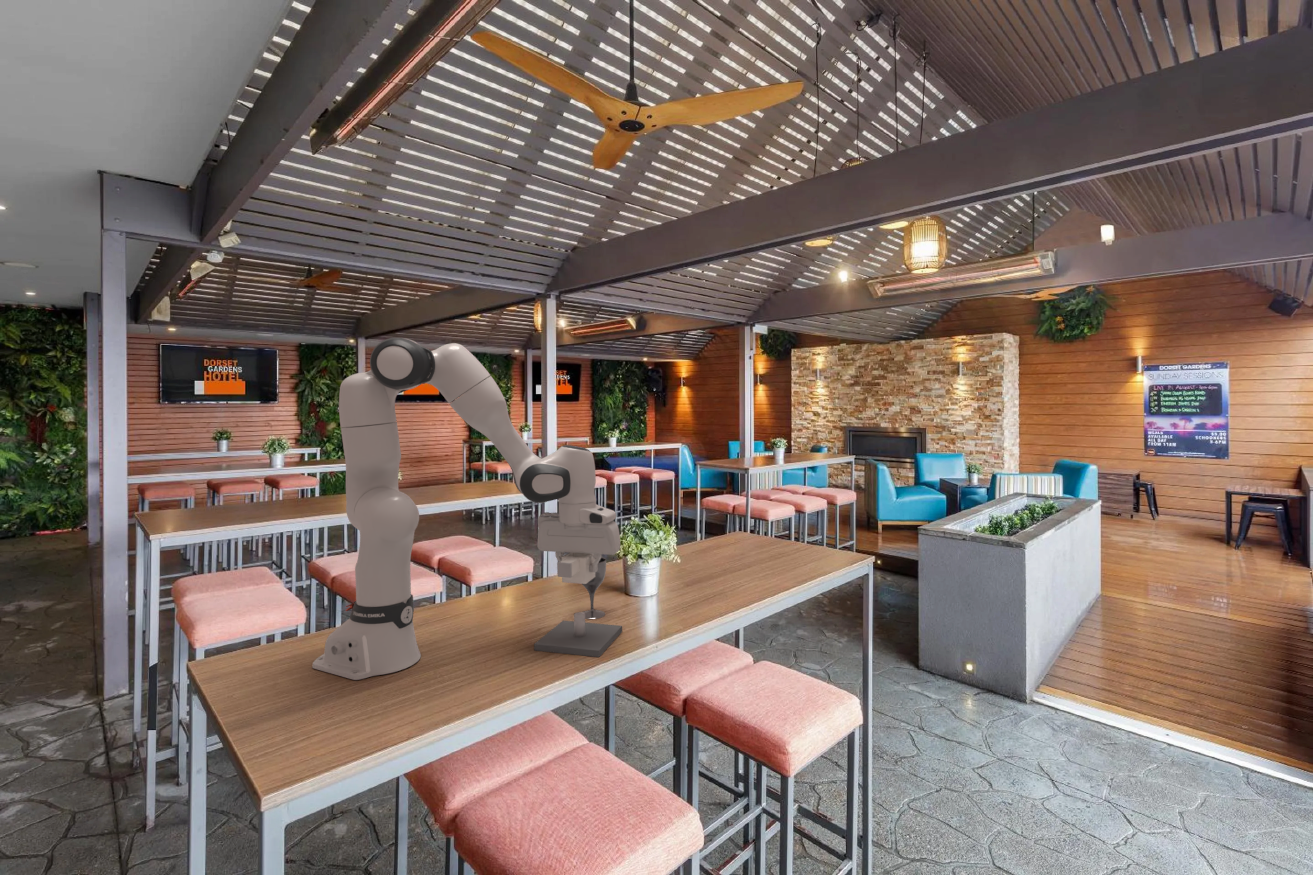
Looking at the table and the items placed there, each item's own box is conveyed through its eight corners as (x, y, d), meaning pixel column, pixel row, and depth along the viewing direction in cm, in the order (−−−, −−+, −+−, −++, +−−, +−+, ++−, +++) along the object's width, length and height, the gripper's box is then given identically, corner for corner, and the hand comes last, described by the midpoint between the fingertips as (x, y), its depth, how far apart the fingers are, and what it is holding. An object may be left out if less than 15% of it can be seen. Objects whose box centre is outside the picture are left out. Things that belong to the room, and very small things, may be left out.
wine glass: (602, 620, 159) (601, 564, 158) (573, 618, 160) (572, 562, 160) (610, 610, 167) (609, 556, 166) (582, 608, 168) (581, 555, 167)
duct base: (534, 650, 140) (533, 622, 139) (563, 626, 155) (562, 601, 155) (599, 657, 135) (598, 628, 135) (622, 631, 151) (621, 605, 150)
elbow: (572, 575, 148) (571, 550, 148) (595, 576, 146) (594, 551, 146) (552, 588, 137) (551, 562, 137) (576, 590, 136) (576, 563, 135)
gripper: (531, 514, 143) (533, 571, 144) (613, 517, 138) (614, 576, 139) (543, 509, 149) (545, 564, 150) (622, 512, 144) (623, 569, 145)
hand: (578, 570), depth 144 cm, fingers closed on elbow, 6 cm apart
